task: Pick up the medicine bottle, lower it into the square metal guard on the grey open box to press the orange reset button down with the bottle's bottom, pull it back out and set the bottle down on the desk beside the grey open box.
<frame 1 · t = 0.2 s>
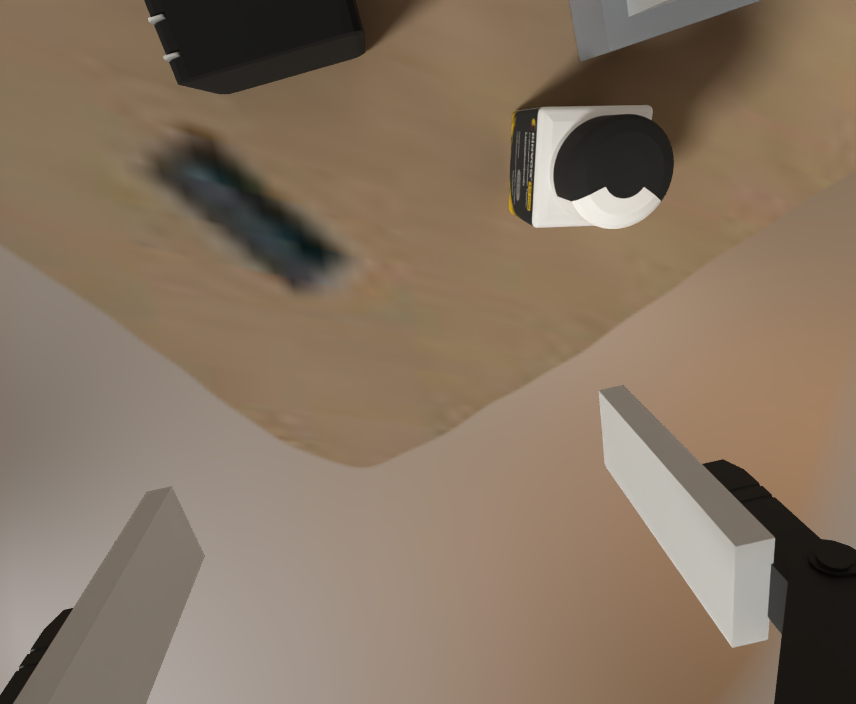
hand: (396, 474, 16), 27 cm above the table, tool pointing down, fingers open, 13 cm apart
medicine bottle: (555, 162, 40), on the table
electronic device: (283, 42, 36), on the table
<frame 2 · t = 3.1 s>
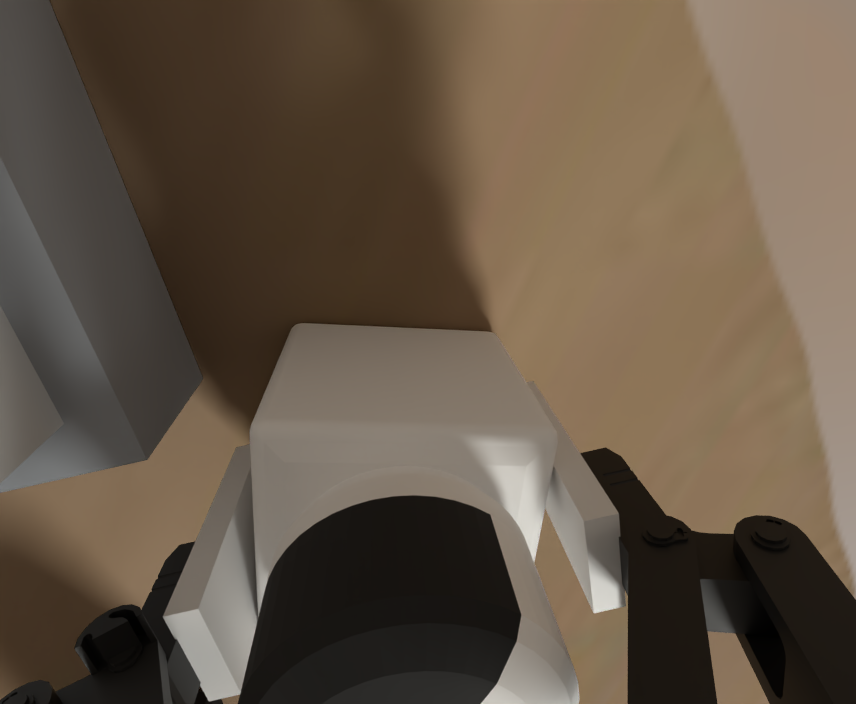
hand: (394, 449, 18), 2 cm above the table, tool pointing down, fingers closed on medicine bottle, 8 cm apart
medicine bottle: (391, 412, 20), on the table, touching gripper
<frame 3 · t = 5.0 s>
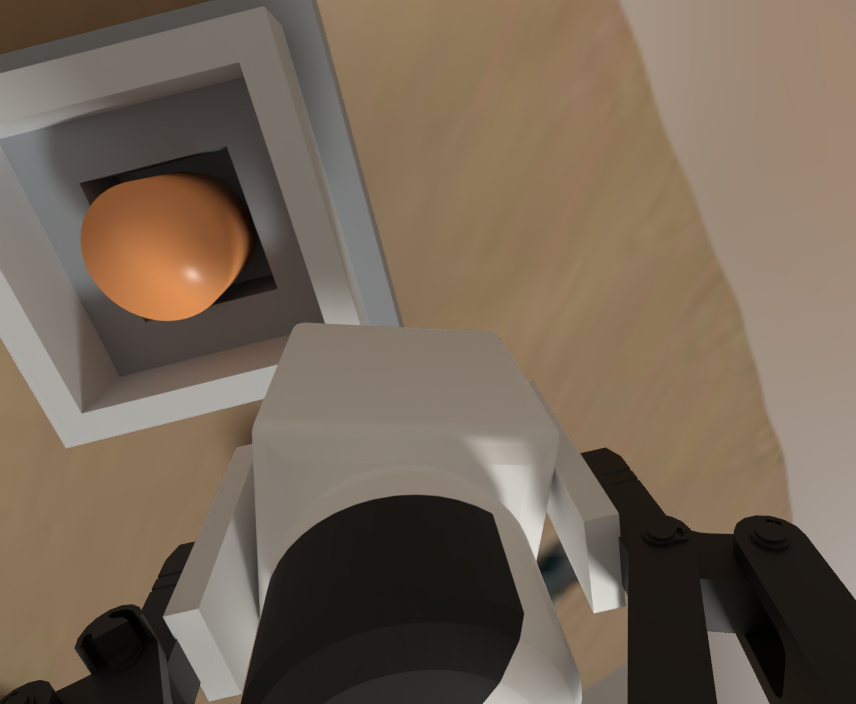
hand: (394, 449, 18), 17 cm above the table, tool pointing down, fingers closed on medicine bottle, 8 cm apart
medicine bottle: (392, 412, 20), point 14 cm above the table, touching gripper
grey open box: (212, 222, 31), on the table
reset button: (177, 242, 25), point 6 cm above the table, slide at 0.0 cm
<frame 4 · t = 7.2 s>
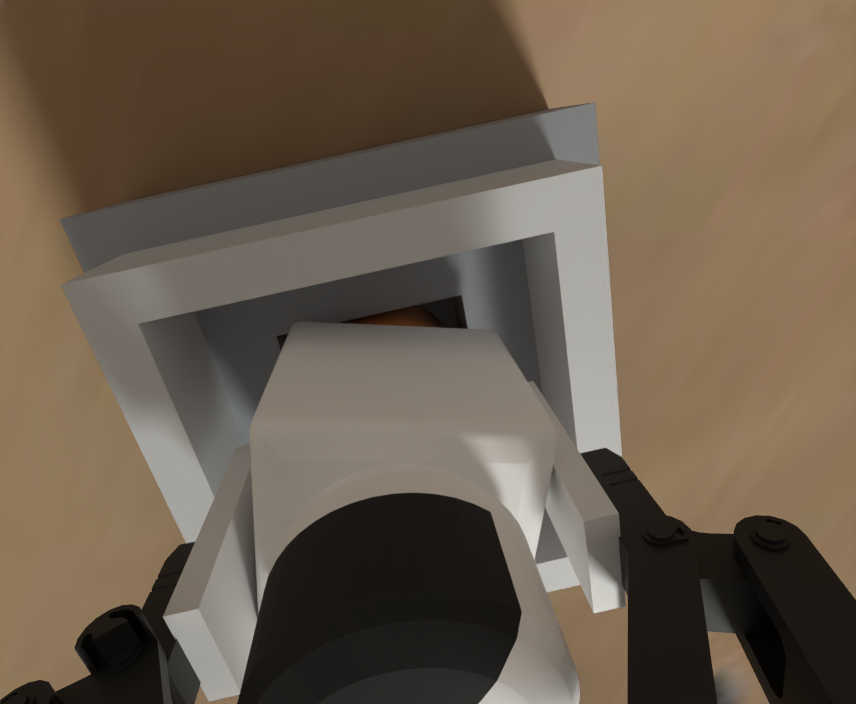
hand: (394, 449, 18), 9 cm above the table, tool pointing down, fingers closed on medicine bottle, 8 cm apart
medicine bottle: (391, 411, 20), point 6 cm above the table, touching gripper, reset button
grey open box: (387, 350, 26), on the table
reset button: (389, 385, 22), point 4 cm above the table, slide at 2.1 cm, touching medicine bottle
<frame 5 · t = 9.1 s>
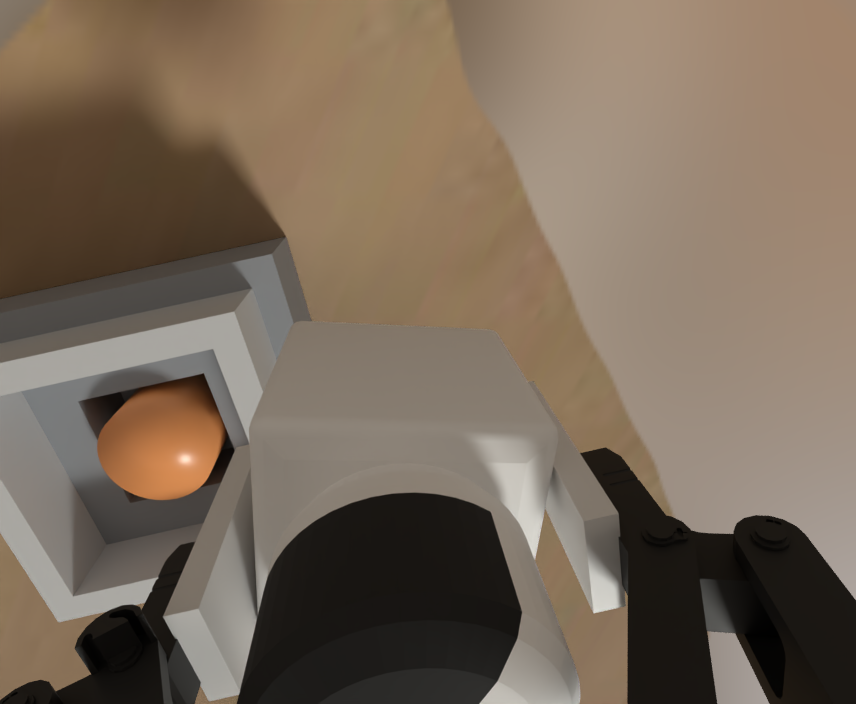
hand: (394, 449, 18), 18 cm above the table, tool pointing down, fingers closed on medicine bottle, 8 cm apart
medicine bottle: (391, 411, 20), point 15 cm above the table, touching gripper
grey open box: (192, 401, 35), on the table
reset button: (172, 430, 32), point 4 cm above the table, slide at 2.1 cm
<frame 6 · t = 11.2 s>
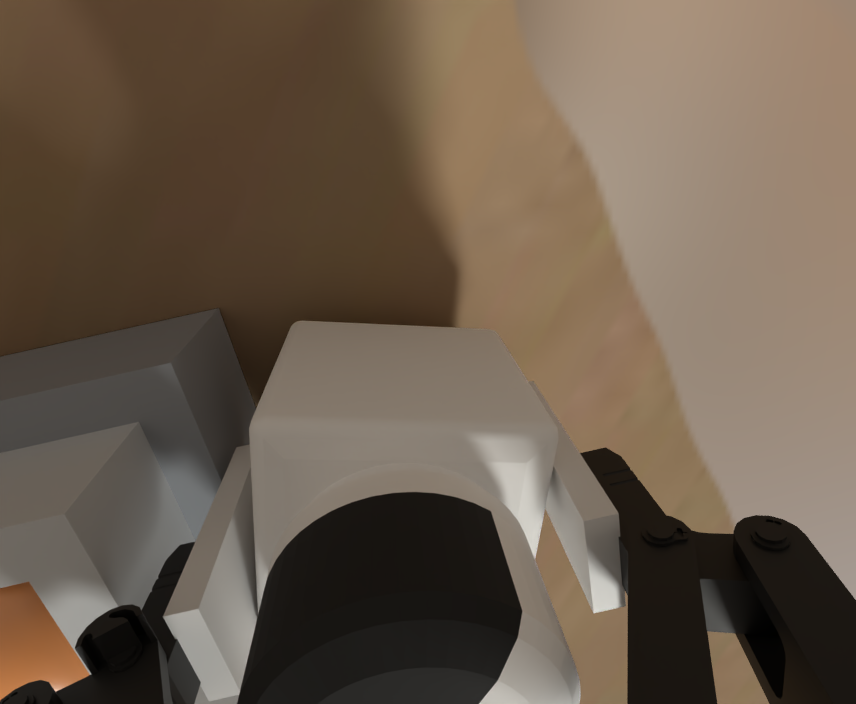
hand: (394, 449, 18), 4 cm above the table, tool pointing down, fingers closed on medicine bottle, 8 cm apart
medicine bottle: (391, 410, 20), point 1 cm above the table, touching gripper
grey open box: (82, 554, 23), on the table
reset button: (29, 632, 19), point 4 cm above the table, slide at 2.1 cm
when the fingers open (4 cm above the table, at t = 11.7 s): medicine bottle drops 1 cm, on the table.
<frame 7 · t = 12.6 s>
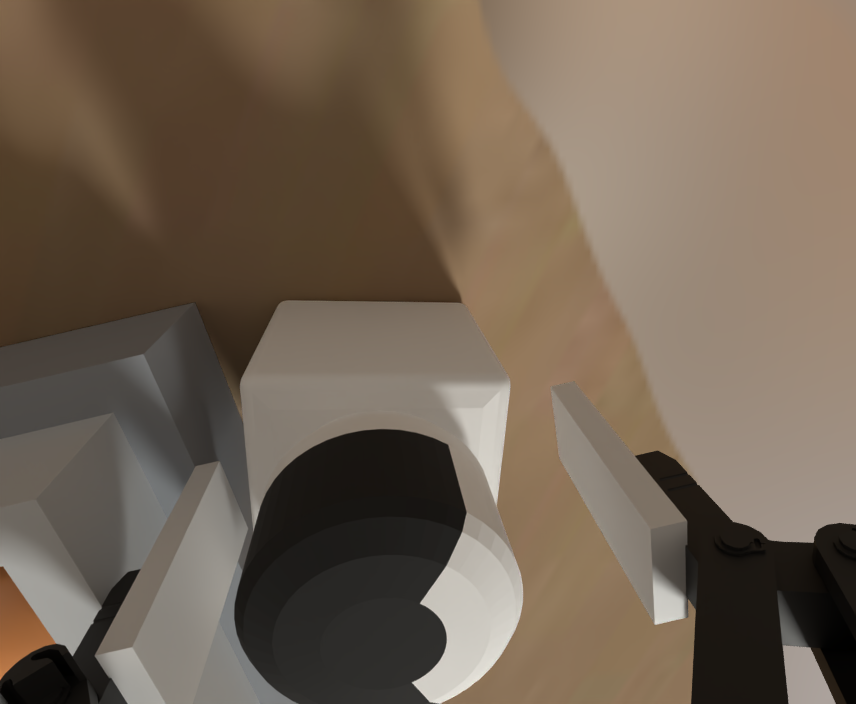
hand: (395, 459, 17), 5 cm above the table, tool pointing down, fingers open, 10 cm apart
medicine bottle: (373, 382, 22), on the table
grey open box: (65, 547, 23), on the table
reset button: (11, 623, 19), point 4 cm above the table, slide at 2.1 cm
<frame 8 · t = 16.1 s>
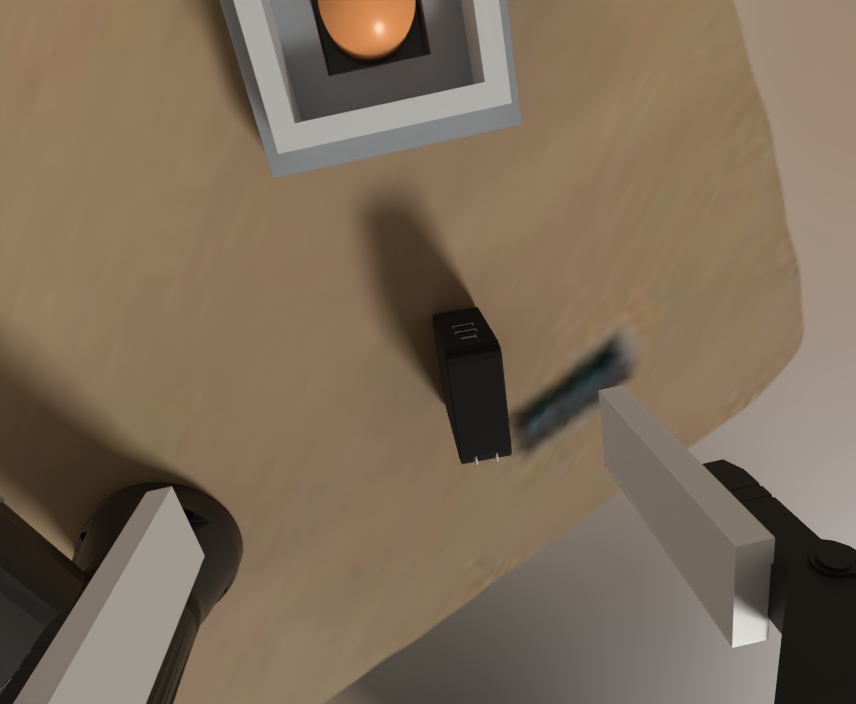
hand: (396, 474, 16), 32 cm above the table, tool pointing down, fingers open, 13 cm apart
grey open box: (367, 19, 39), on the table
reset button: (367, 8, 36), point 4 cm above the table, slide at 2.1 cm
electronic device: (460, 357, 50), on the table
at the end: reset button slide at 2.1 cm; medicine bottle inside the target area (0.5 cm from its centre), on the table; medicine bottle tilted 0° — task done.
